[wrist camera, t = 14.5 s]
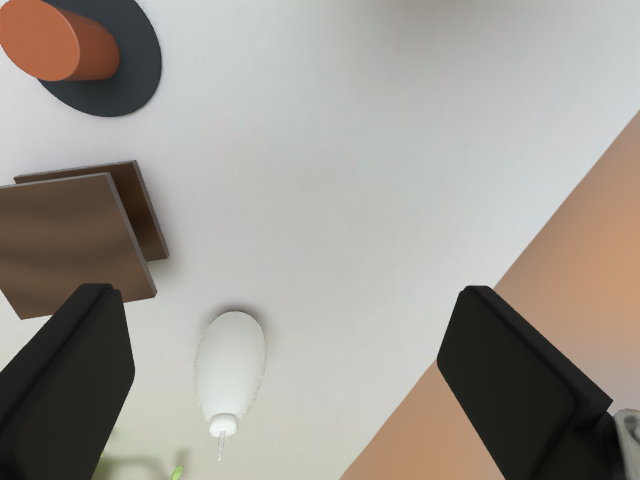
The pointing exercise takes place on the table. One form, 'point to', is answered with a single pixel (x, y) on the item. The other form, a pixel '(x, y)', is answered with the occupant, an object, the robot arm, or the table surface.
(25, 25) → the canister
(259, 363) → the sauce bottle
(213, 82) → the table surface
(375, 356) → the table surface
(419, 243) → the table surface
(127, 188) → the stand
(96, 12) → the coaster
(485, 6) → the table surface
